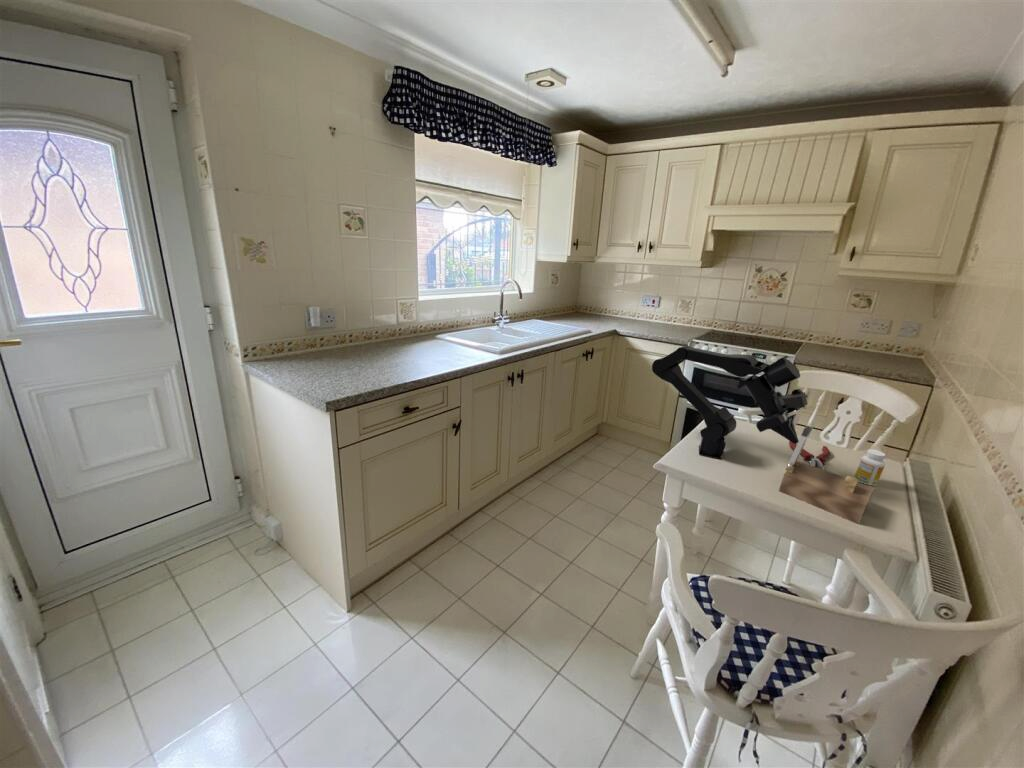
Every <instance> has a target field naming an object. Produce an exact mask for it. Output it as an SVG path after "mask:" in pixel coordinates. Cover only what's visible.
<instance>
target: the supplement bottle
mask: <svg viewBox="0 0 1024 768" xmlns="http://www.w3.org/2000/svg"><path fill="white" fill-rule="evenodd" d="M885 458H886V454H885V453H884V452H882V451H880V450H877V449H872V448H870V449H867V452H866V454H865V455H862V457H861V458H860V461H859V464H858V466H857V469H856V472H855V474H854V478H855V479H858V483H860V482H861V484H863V483H864V485H866V484H869V485H868V486H870V485H875V486H877V485H878V483H879V481H880V479H881V476H882V473H883V471H884V469H885V466H886V462H885Z"/></svg>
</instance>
